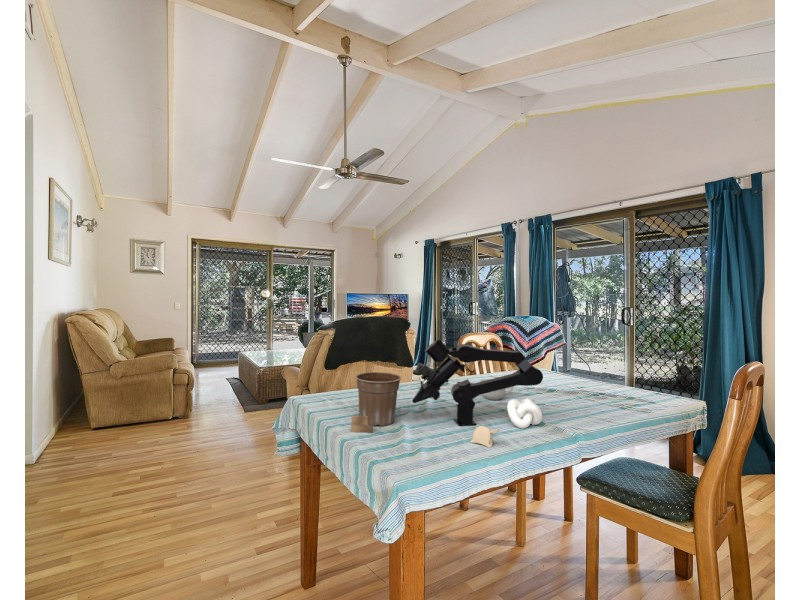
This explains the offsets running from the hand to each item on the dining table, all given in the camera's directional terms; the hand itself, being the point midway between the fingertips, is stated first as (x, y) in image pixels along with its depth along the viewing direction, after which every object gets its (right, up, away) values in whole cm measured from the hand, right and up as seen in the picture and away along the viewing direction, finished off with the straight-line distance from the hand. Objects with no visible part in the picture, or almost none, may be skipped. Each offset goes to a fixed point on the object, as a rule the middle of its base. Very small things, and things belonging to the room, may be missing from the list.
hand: (413, 402), depth 146 cm
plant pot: (-13, -7, 0) cm, 14 cm away
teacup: (+38, -7, +34) cm, 51 cm away
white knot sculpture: (+39, -8, 0) cm, 40 cm away
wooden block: (-17, -7, 0) cm, 18 cm away
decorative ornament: (+21, -8, -20) cm, 30 cm away
